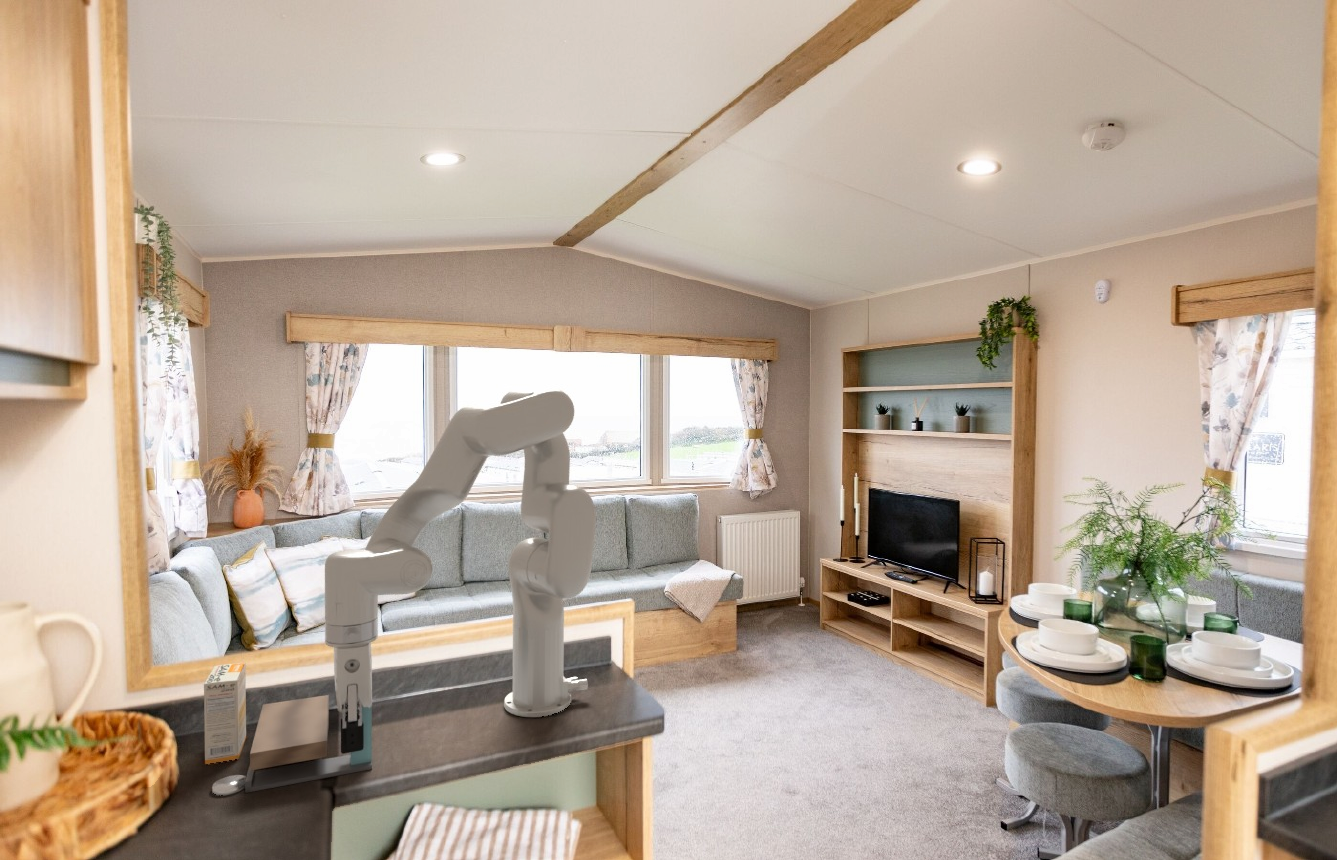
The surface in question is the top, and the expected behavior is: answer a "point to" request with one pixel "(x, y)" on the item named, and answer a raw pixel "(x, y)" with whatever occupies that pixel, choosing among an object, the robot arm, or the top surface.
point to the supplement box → (225, 712)
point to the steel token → (229, 785)
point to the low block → (291, 732)
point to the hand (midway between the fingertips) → (352, 745)
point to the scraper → (316, 765)
